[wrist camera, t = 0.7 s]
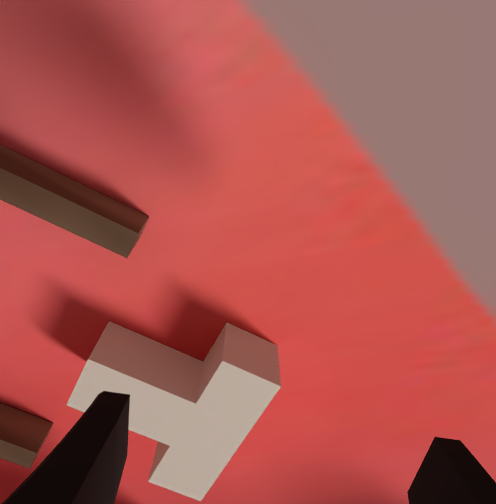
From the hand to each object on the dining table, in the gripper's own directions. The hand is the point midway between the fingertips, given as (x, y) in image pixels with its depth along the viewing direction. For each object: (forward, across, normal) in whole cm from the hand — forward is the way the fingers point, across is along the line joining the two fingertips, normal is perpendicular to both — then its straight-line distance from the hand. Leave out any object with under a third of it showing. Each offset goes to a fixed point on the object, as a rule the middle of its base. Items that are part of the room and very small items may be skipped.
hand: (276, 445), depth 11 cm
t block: (+10, +4, +8) cm, 13 cm away
